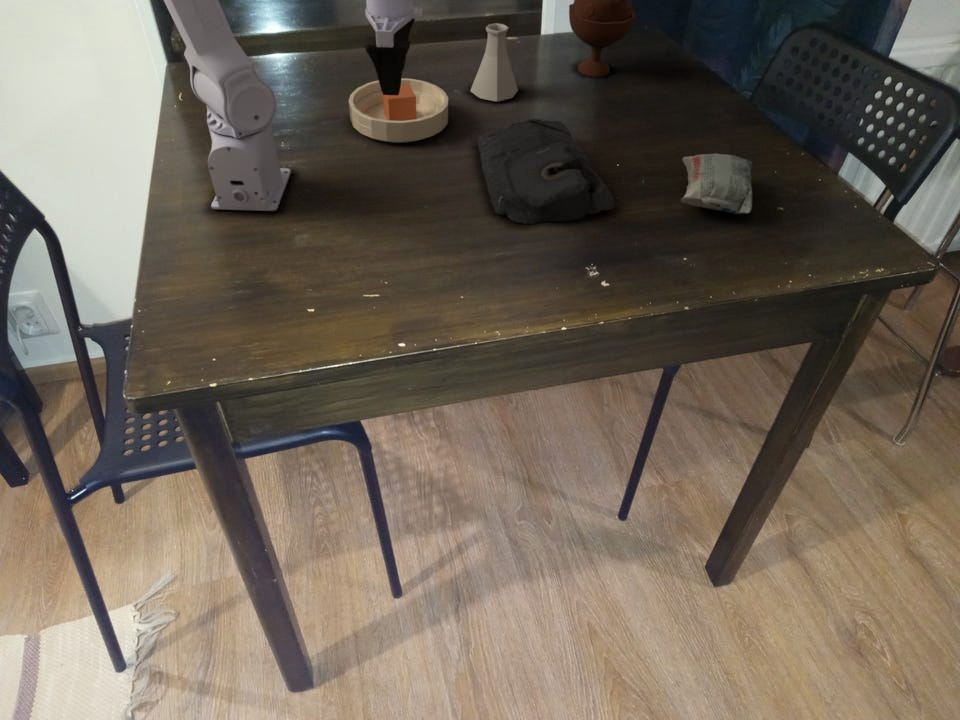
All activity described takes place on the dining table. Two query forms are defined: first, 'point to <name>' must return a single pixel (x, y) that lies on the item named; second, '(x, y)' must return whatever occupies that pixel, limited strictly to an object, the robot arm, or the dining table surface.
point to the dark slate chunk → (540, 174)
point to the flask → (495, 68)
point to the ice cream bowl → (600, 28)
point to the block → (400, 105)
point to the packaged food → (719, 183)
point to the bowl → (375, 125)
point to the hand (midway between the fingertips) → (393, 81)
